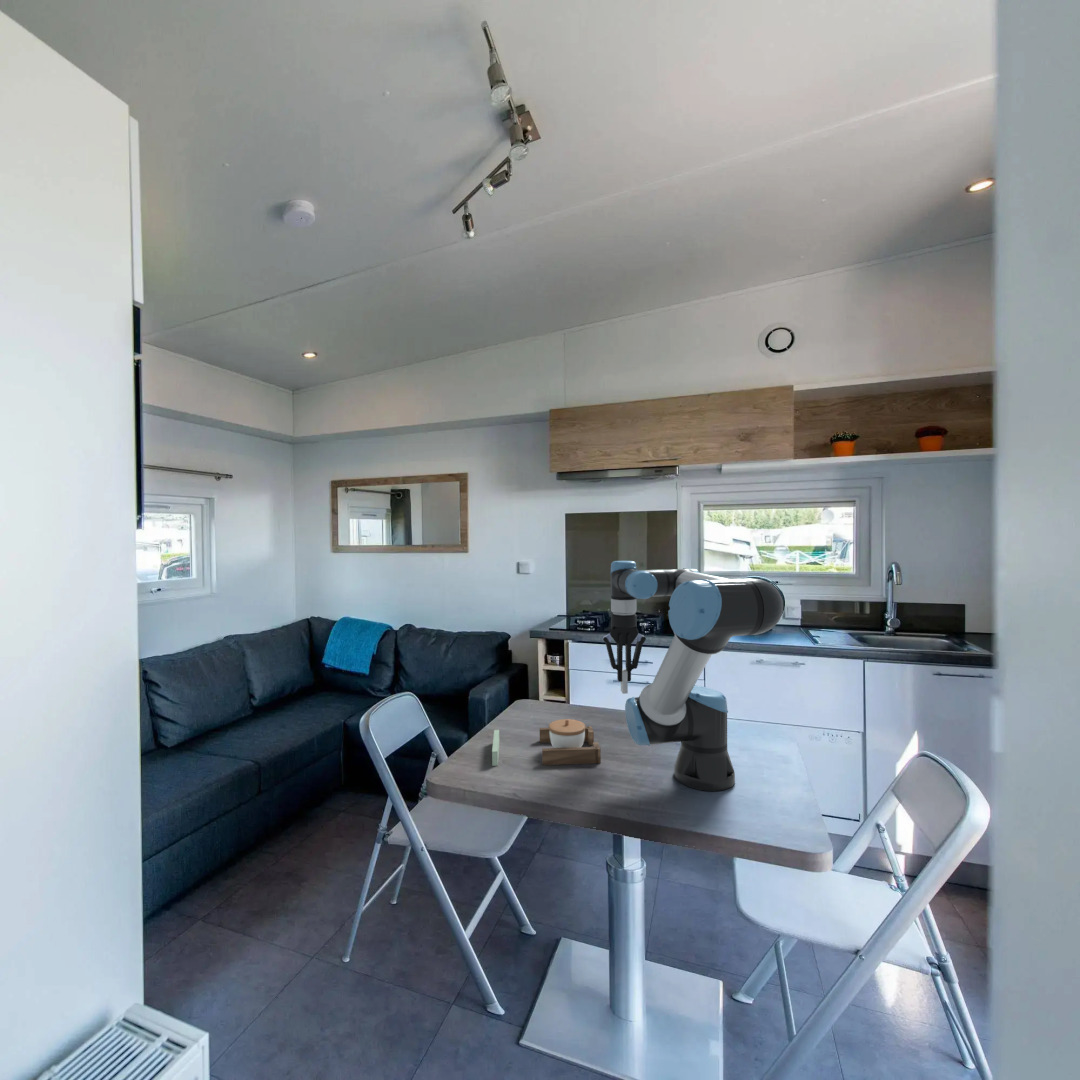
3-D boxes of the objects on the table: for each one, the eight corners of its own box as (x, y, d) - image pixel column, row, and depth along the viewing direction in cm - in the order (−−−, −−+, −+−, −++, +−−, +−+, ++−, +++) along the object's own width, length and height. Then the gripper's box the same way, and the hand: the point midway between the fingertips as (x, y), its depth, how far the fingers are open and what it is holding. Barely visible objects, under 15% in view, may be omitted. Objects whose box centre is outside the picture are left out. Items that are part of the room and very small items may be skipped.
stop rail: (497, 765, 144) (497, 751, 144) (492, 765, 144) (492, 751, 144) (499, 742, 160) (499, 729, 160) (494, 742, 160) (494, 729, 160)
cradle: (600, 763, 145) (600, 748, 145) (542, 765, 144) (542, 750, 144) (591, 739, 162) (591, 726, 162) (539, 740, 161) (539, 727, 161)
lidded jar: (560, 741, 160) (559, 711, 160) (591, 748, 155) (591, 717, 155) (542, 754, 151) (542, 722, 151) (575, 762, 146) (574, 729, 145)
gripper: (642, 610, 157) (642, 687, 158) (599, 611, 157) (600, 688, 157) (648, 614, 150) (649, 695, 150) (603, 615, 149) (604, 696, 150)
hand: (624, 692), depth 154 cm, fingers closed
